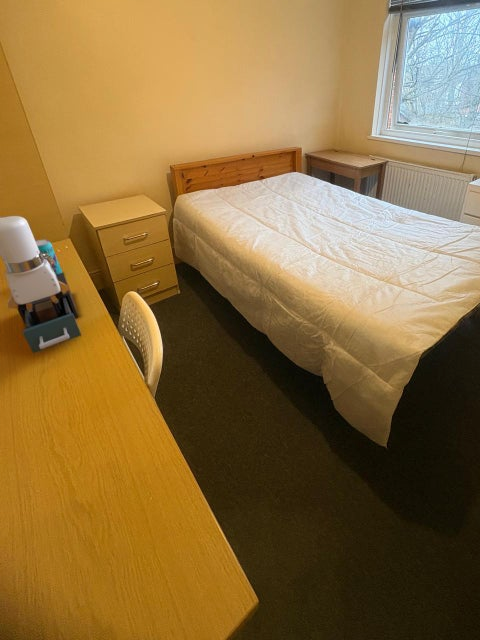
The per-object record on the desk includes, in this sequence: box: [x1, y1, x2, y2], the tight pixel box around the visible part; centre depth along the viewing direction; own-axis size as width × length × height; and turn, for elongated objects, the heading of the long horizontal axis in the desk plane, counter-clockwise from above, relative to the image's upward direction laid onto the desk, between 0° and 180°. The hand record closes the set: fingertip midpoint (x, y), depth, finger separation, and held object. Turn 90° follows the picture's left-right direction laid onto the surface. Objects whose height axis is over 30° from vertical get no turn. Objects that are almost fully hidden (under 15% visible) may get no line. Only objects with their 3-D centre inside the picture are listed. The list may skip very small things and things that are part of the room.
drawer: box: [22, 297, 82, 354], centre depth 93 cm, size 18×11×8 cm, turn 39°
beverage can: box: [35, 238, 63, 275], centre depth 119 cm, size 6×6×15 cm
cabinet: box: [16, 272, 79, 327], centre depth 102 cm, size 15×13×10 cm
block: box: [35, 300, 58, 323], centre depth 92 cm, size 4×4×4 cm
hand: (48, 315), depth 93 cm, fingers closed on block, 4 cm apart
